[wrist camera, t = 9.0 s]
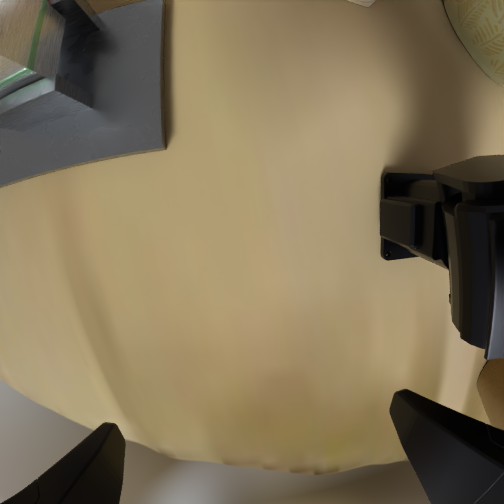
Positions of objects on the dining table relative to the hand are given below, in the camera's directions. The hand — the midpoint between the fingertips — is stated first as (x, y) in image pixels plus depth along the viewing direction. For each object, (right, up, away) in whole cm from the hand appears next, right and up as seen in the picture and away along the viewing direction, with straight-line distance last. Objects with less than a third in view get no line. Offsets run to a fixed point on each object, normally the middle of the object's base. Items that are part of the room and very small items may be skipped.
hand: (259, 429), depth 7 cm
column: (-14, +18, +3) cm, 23 cm away
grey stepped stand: (-14, +17, +8) cm, 23 cm away
